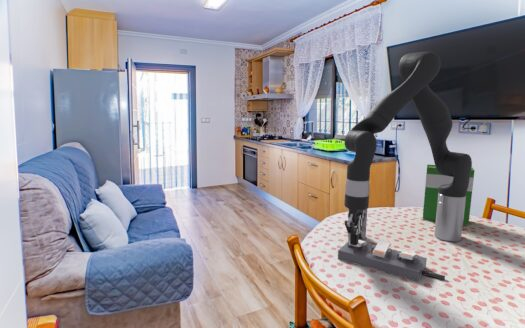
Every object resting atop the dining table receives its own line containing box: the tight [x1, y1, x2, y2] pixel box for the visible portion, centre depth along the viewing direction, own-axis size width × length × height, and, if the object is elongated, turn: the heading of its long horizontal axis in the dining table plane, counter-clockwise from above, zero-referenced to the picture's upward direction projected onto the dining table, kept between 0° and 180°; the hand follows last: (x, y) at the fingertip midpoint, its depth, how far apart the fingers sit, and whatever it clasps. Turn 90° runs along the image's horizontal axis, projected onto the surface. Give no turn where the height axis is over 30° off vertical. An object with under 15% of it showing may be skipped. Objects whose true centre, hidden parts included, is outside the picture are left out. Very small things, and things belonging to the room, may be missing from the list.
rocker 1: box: [349, 240, 367, 247], centre depth 113 cm, size 7×4×1 cm, turn 144°
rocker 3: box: [399, 250, 417, 260], centre depth 103 cm, size 7×4×1 cm, turn 144°
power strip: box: [337, 240, 446, 282], centre depth 107 cm, size 11×31×5 cm, turn 54°
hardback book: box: [422, 164, 475, 226], centre depth 148 cm, size 18×7×24 cm, turn 64°
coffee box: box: [347, 208, 368, 242], centre depth 126 cm, size 9×6×16 cm
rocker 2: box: [373, 240, 391, 258], centre depth 108 cm, size 7×4×1 cm, turn 143°
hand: (354, 244), depth 110 cm, fingers closed
